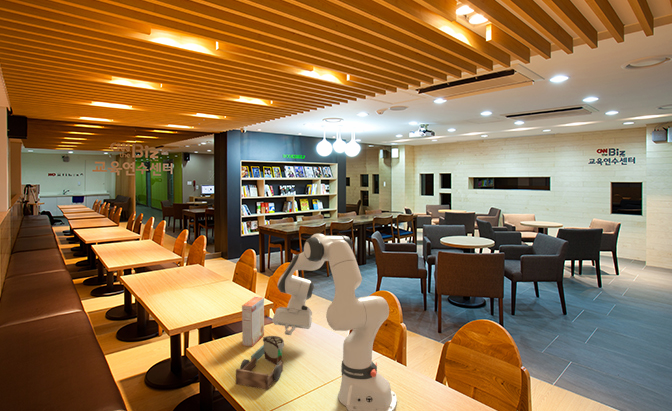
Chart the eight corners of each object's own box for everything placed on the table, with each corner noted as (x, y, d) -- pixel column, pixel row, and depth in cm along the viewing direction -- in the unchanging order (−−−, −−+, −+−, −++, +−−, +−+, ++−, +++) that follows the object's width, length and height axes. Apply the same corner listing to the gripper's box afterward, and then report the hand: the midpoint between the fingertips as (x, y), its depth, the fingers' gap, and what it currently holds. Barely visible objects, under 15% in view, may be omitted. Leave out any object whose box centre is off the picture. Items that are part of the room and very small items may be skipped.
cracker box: (254, 334, 194) (254, 296, 193) (264, 335, 193) (264, 297, 191) (241, 345, 180) (241, 304, 179) (252, 347, 179) (252, 306, 178)
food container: (289, 362, 165) (289, 341, 164) (279, 367, 160) (279, 345, 160) (273, 353, 173) (273, 333, 172) (262, 357, 169) (262, 336, 168)
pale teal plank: (265, 350, 175) (265, 342, 175) (267, 351, 175) (267, 343, 175) (251, 364, 162) (251, 356, 162) (253, 365, 162) (253, 356, 161)
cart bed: (285, 371, 157) (285, 358, 156) (269, 390, 142) (269, 376, 142) (251, 365, 161) (251, 352, 161) (233, 383, 147) (233, 369, 146)
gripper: (275, 303, 188) (266, 329, 179) (312, 308, 182) (305, 334, 174) (279, 309, 192) (270, 334, 184) (315, 313, 187) (308, 339, 178)
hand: (287, 334), depth 179 cm, fingers closed
